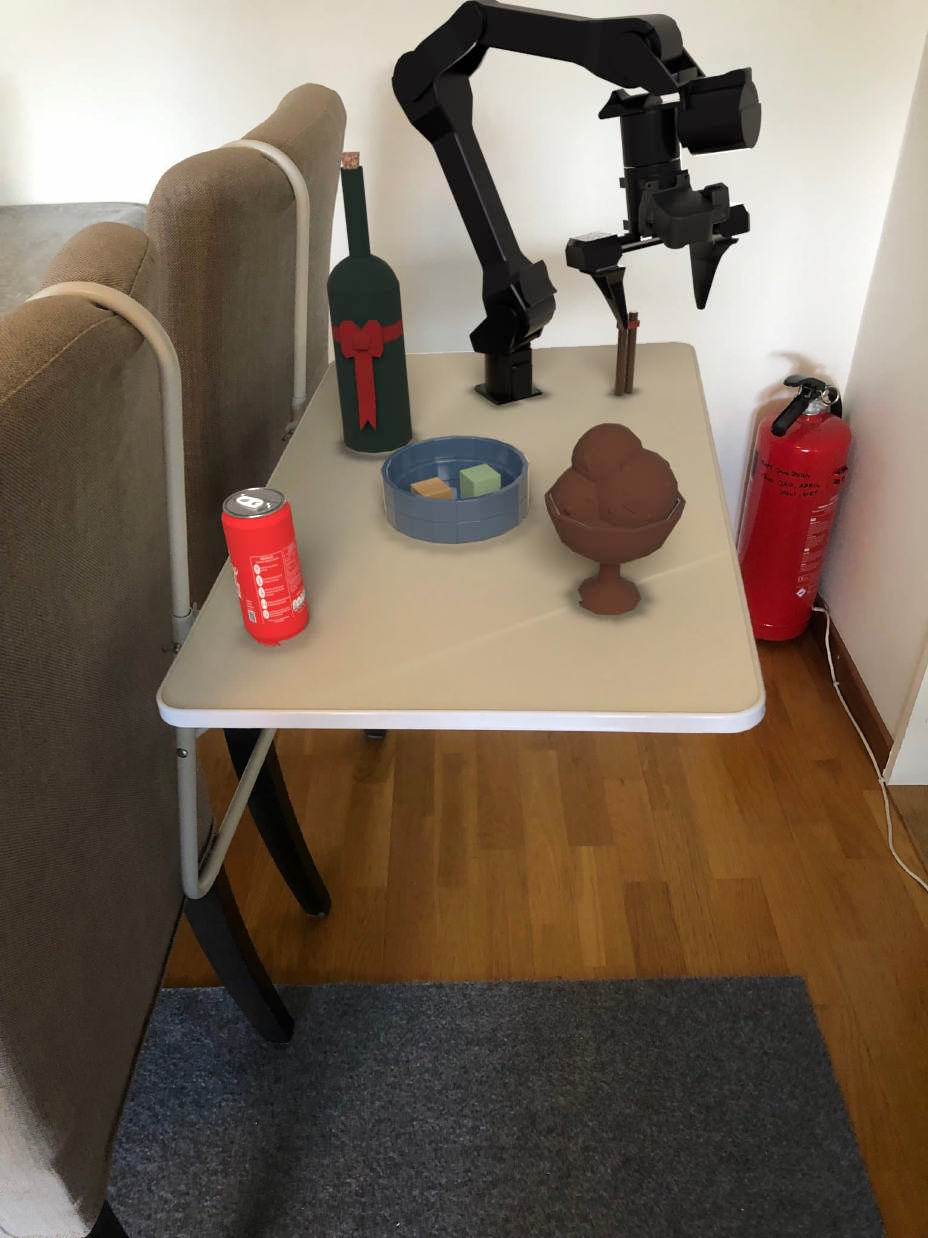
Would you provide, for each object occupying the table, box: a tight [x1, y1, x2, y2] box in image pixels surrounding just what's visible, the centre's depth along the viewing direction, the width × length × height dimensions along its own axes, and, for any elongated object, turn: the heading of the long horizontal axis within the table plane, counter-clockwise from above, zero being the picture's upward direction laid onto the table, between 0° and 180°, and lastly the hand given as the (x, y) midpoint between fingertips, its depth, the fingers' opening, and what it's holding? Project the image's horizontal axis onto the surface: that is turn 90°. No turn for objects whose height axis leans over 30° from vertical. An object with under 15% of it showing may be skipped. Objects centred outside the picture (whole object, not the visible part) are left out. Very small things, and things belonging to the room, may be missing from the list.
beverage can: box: [221, 486, 309, 647], centre depth 73 cm, size 5×5×12 cm
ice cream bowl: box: [543, 422, 687, 616], centre depth 74 cm, size 11×11×15 cm
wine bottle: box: [326, 151, 413, 454], centre depth 96 cm, size 8×10×30 cm
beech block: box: [411, 477, 452, 499], centre depth 89 cm, size 3×3×3 cm
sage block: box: [460, 464, 501, 498], centre depth 91 cm, size 3×3×3 cm
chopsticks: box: [614, 309, 641, 397], centre depth 112 cm, size 1×3×10 cm, turn 118°
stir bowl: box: [380, 435, 530, 544], centre depth 90 cm, size 14×14×5 cm
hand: (662, 319), depth 100 cm, fingers open, 9 cm apart
